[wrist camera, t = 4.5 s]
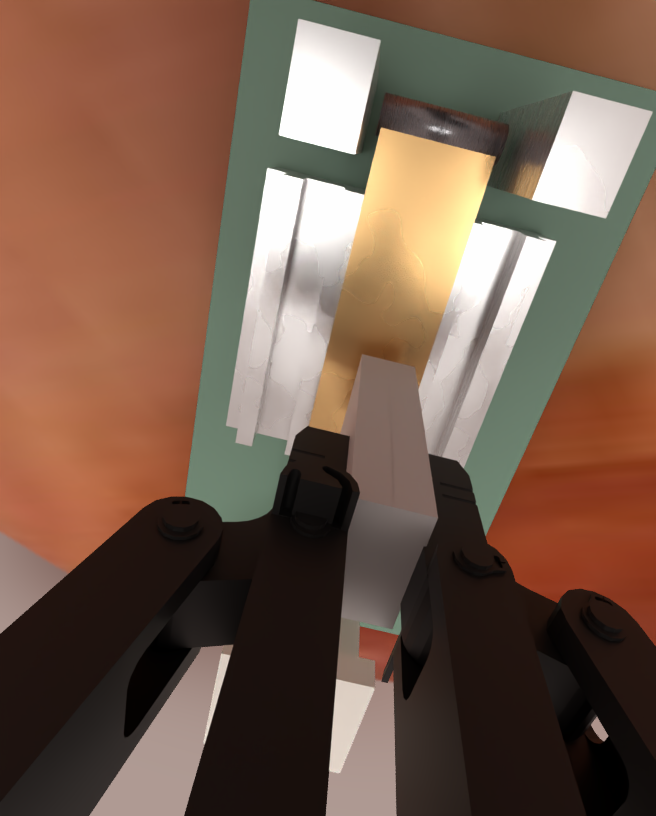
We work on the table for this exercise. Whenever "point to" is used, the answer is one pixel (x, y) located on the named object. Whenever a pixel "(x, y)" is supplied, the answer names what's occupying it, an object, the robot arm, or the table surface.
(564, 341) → the board
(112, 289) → the table surface
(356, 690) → the latch
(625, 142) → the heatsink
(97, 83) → the table surface
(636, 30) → the table surface
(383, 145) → the strap
